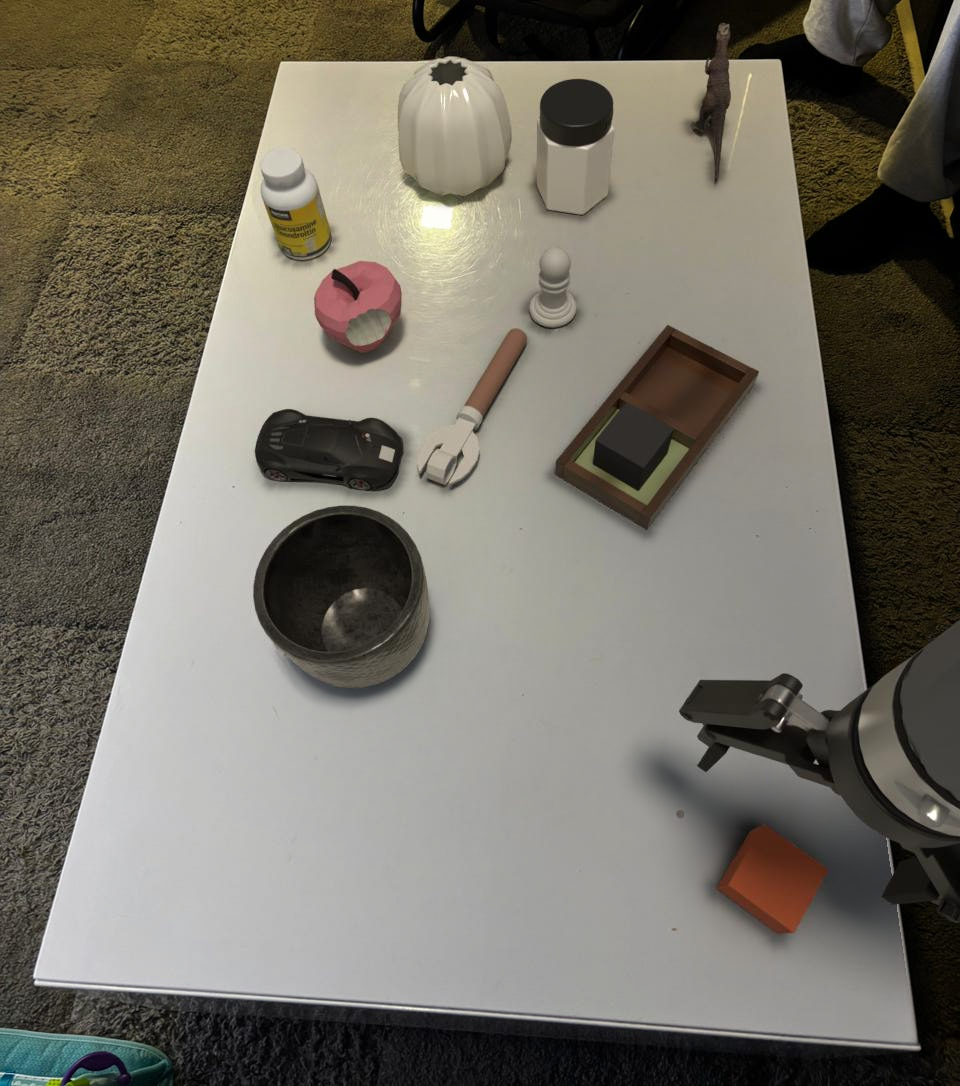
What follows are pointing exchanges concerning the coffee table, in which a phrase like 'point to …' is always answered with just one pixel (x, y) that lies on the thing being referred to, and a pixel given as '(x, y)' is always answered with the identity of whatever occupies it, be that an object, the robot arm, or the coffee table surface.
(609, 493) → the frame
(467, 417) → the pizza cutter
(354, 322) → the apple
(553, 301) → the chess piece
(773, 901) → the orange block
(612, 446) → the black cube
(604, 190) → the jar
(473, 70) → the vase
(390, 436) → the toy car
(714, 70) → the dinosaur model
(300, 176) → the pill bottle
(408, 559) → the planter
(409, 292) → the coffee table surface
